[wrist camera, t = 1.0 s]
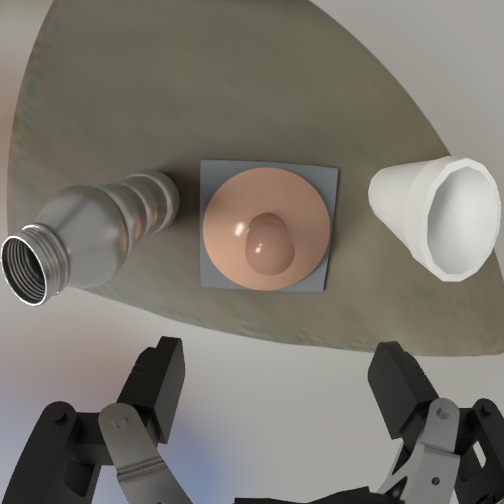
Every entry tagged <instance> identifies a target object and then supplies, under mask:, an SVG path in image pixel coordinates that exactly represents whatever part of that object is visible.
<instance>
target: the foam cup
mask: <svg viewBox="0 0 504 504" xmlns="http://www.w3.org/2000/svg"><path fill="white" fill-rule="evenodd" d="M368 196H369V204H370V206H371V208H372V210H373V212H374V214H376V216H377V217H378V218H379V219H380V220H381V221H382V222H383V223H384V224H385V225H386V226H387V227H388V228H389V229H390V230H391V231H392V232H393V233H394V234H395V235H396V236H397V237H398V238H399V239H400V240H401V241H402V242H403V243H404V244H405V246H406V247H407V248H408V249H409V250H410V251H411V253H412V256H413V258H415V259H416V260H417V261H418V262H420V263H421V264H422V265H423V266H425V267H426V268H427V269H428V270H430V271H431V272H432V273H433V274H435V275H436V276H437V277H438V278H440V279H441V280H442V281H462V280H464V279H465V278H467V277H469V276H470V275H472V274H474V273H475V272H477V271H478V270H479V268H480V267H481V266H482V265H483V263H484V262H485V261H486V259H487V258H488V257H489V255H490V254H491V252H492V249H493V247H494V244H495V241H496V238H497V236H498V233H499V228H500V216H501V203H500V198H499V193H498V189H497V185H496V182H495V180H494V179H493V177H492V176H491V175H490V173H489V172H488V170H487V169H486V167H485V166H484V165H483V164H480V163H478V162H476V161H473V160H471V159H468V158H464V157H454V156H446V157H443V158H439V159H436V160H430V161H423V162H415V163H408V164H401V165H395V166H390V167H387V168H384V169H381V170H379V172H378V173H377V174H376V175H375V176H374V177H373V178H372V180H371V183H370V186H369V189H368Z"/></svg>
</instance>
